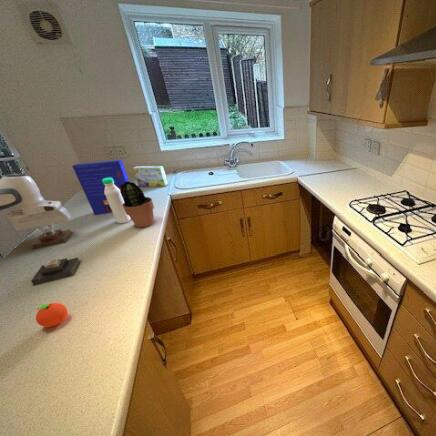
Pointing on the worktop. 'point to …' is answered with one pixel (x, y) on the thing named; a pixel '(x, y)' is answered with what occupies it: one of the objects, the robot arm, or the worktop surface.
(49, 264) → the front key
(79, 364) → the worktop surface
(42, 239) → the reddish brown slab
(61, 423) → the worktop surface
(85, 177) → the cereal box
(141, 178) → the snack box
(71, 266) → the dark slab
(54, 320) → the tomato
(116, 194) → the water bottle
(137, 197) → the potted plant
